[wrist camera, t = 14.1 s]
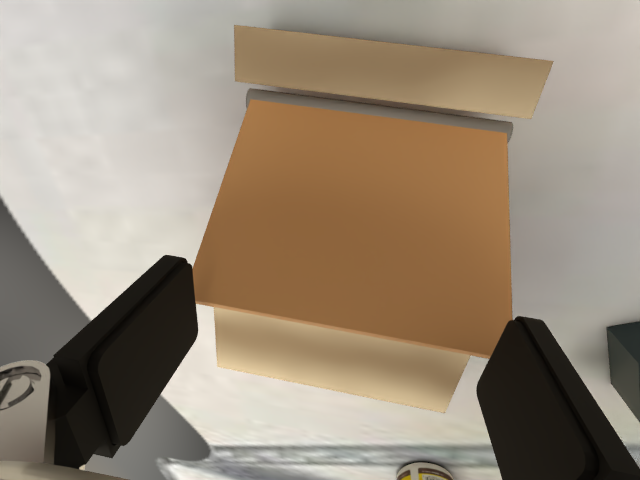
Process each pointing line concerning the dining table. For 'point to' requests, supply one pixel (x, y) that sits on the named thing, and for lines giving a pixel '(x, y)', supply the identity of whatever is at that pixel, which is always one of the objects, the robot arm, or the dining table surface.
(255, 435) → the dining table surface
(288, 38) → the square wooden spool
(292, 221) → the flap
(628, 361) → the watch
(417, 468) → the supplement bottle
